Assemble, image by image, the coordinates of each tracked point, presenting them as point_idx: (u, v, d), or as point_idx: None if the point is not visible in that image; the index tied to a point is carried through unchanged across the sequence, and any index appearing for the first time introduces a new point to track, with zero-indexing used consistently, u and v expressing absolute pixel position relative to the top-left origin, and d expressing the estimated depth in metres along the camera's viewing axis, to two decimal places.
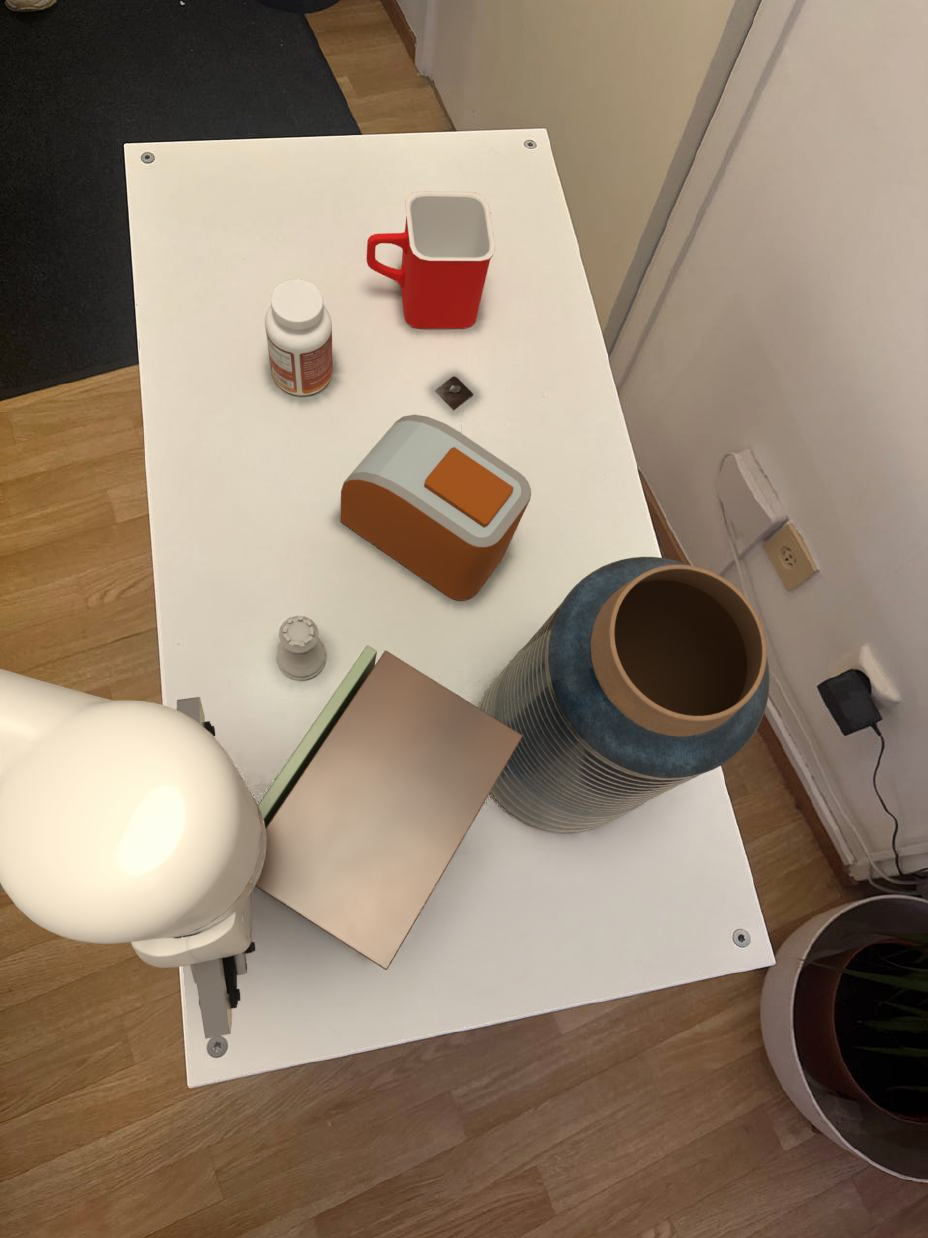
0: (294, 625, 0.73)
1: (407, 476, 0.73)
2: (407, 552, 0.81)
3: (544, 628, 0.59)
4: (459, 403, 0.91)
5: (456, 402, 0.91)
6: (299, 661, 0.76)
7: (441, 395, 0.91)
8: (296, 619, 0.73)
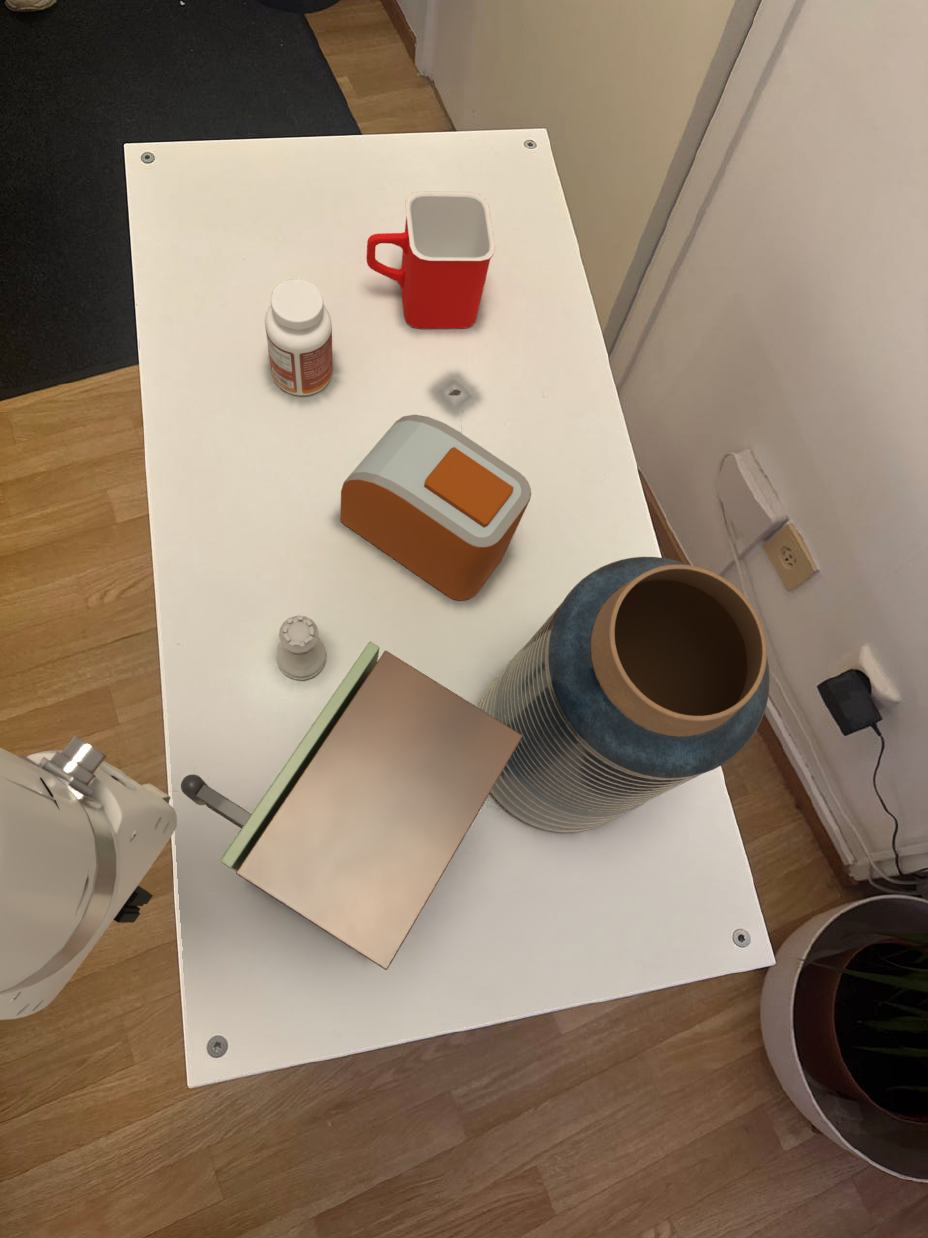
0: (294, 625, 0.73)
1: (407, 476, 0.73)
2: (407, 552, 0.81)
3: (544, 628, 0.59)
4: None
5: None
6: (299, 661, 0.76)
7: None
8: (296, 619, 0.73)
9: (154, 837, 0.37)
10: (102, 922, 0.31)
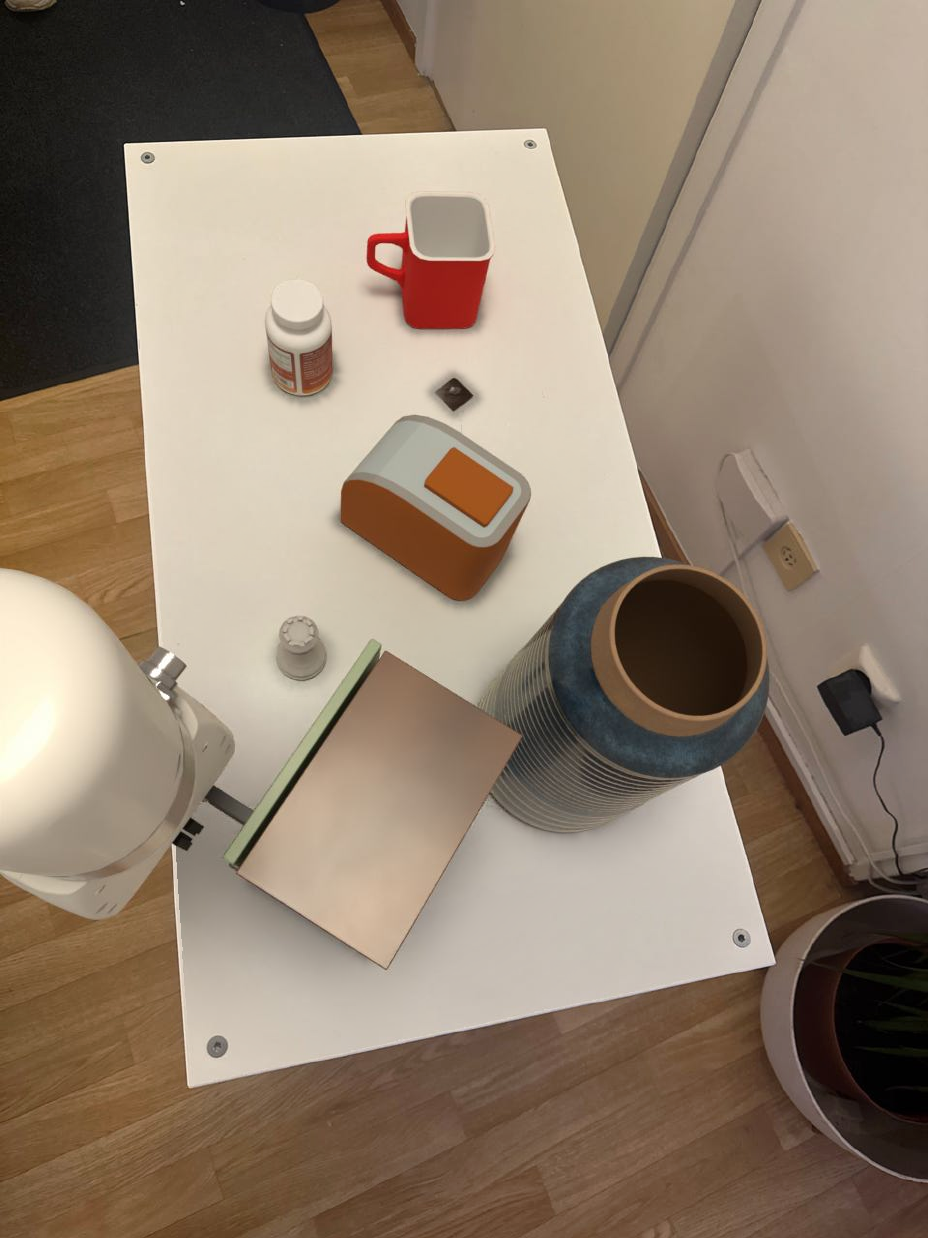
0: (294, 625, 0.73)
1: (407, 476, 0.73)
2: (407, 552, 0.81)
3: (544, 628, 0.59)
4: (459, 405, 0.91)
5: (456, 403, 0.91)
6: (299, 661, 0.76)
7: (441, 397, 0.91)
8: (296, 619, 0.73)
9: (218, 755, 0.40)
10: (183, 818, 0.33)
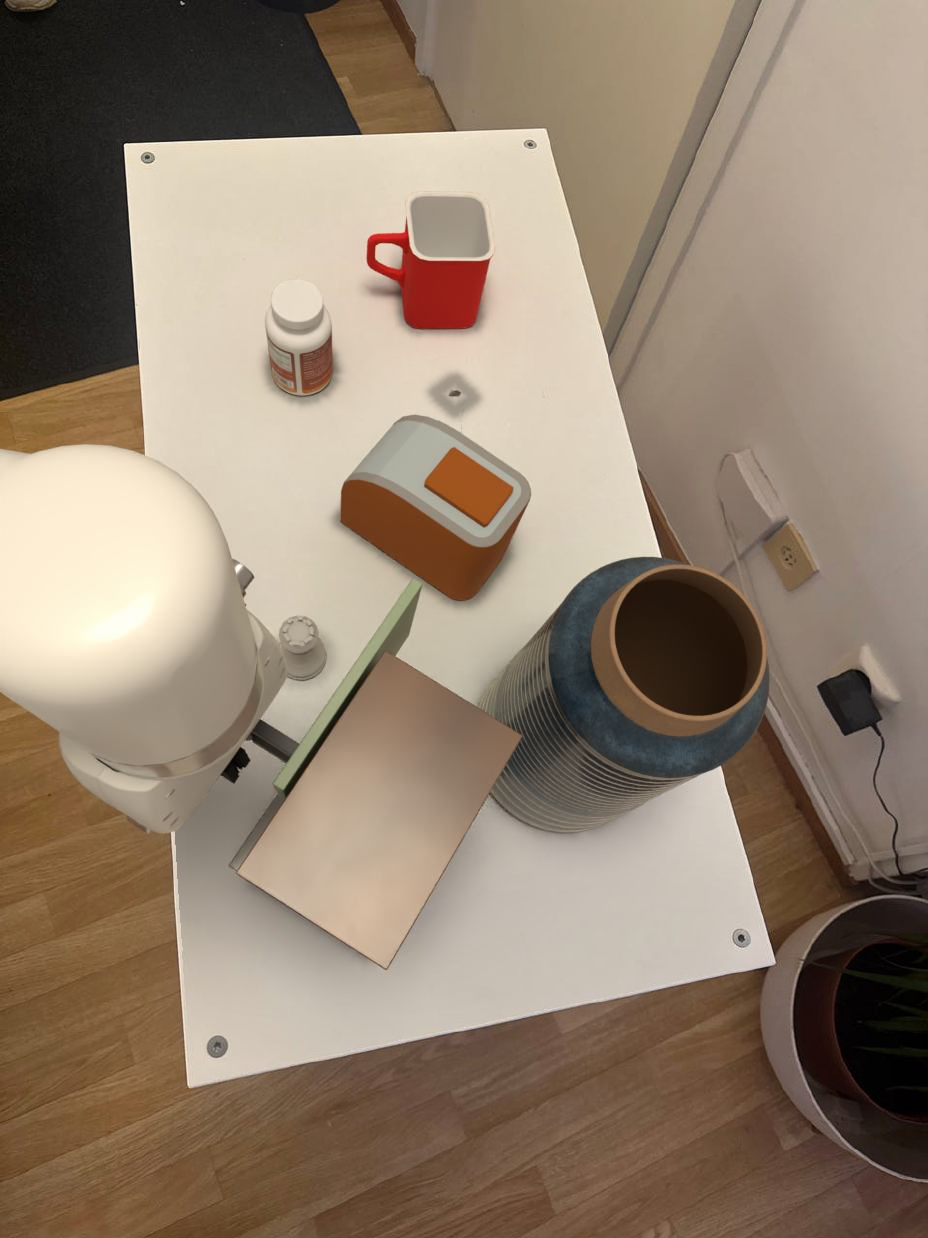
0: (294, 625, 0.73)
1: (407, 476, 0.73)
2: (407, 552, 0.81)
3: (544, 628, 0.59)
4: None
5: None
6: (299, 661, 0.76)
7: None
8: (296, 619, 0.73)
9: (275, 676, 0.41)
10: (252, 721, 0.35)
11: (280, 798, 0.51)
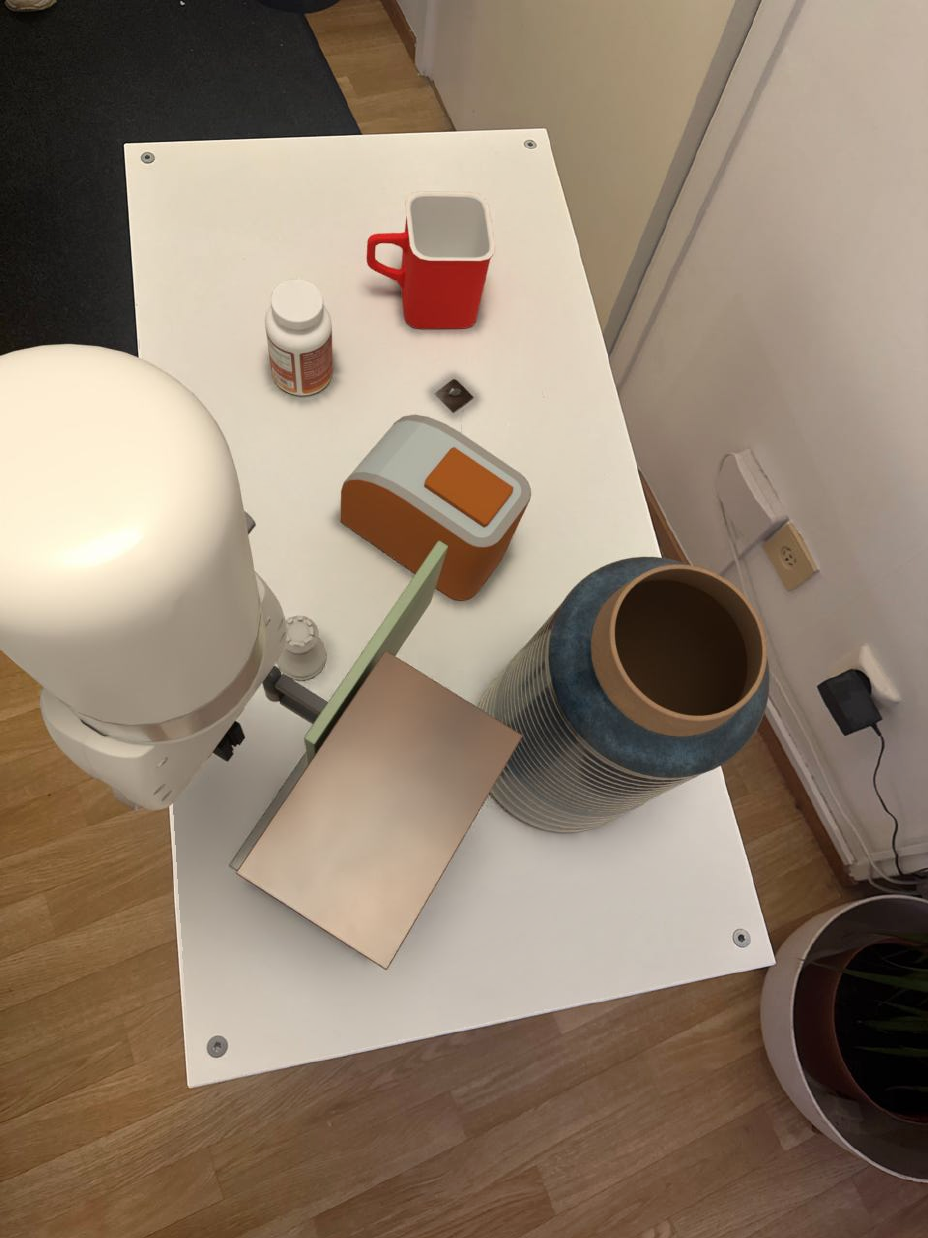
0: (294, 625, 0.73)
1: (407, 476, 0.73)
2: (407, 552, 0.81)
3: (544, 628, 0.59)
4: (459, 406, 0.91)
5: (456, 404, 0.91)
6: (299, 661, 0.76)
7: (441, 398, 0.91)
8: (296, 619, 0.73)
9: (275, 640, 0.38)
10: (253, 681, 0.32)
11: (308, 756, 0.52)
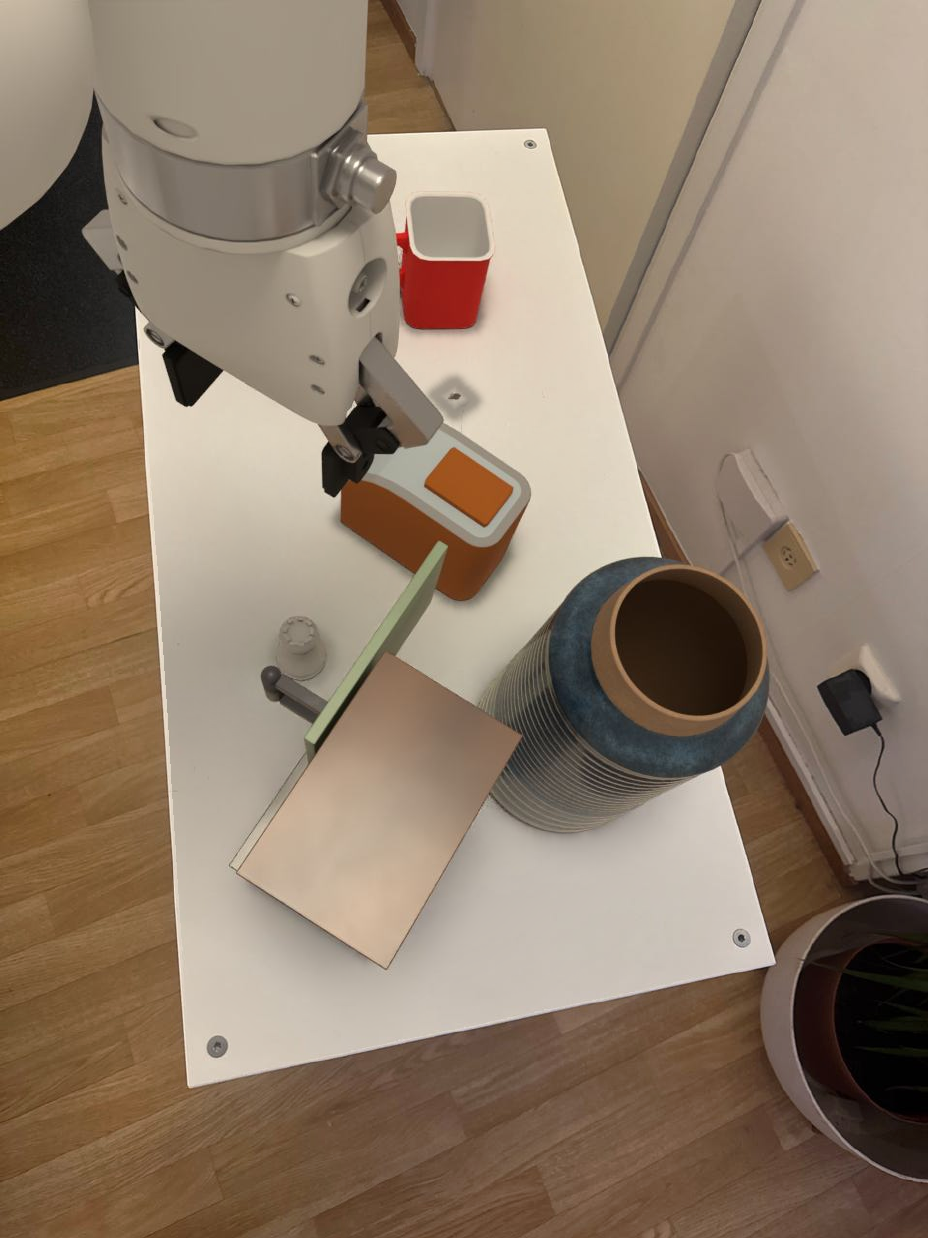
0: (294, 625, 0.73)
1: (407, 476, 0.73)
2: (407, 552, 0.81)
3: (544, 628, 0.59)
4: None
5: None
6: (299, 661, 0.76)
7: None
8: (296, 619, 0.73)
9: (302, 363, 0.31)
10: (179, 230, 0.26)
11: (308, 756, 0.52)
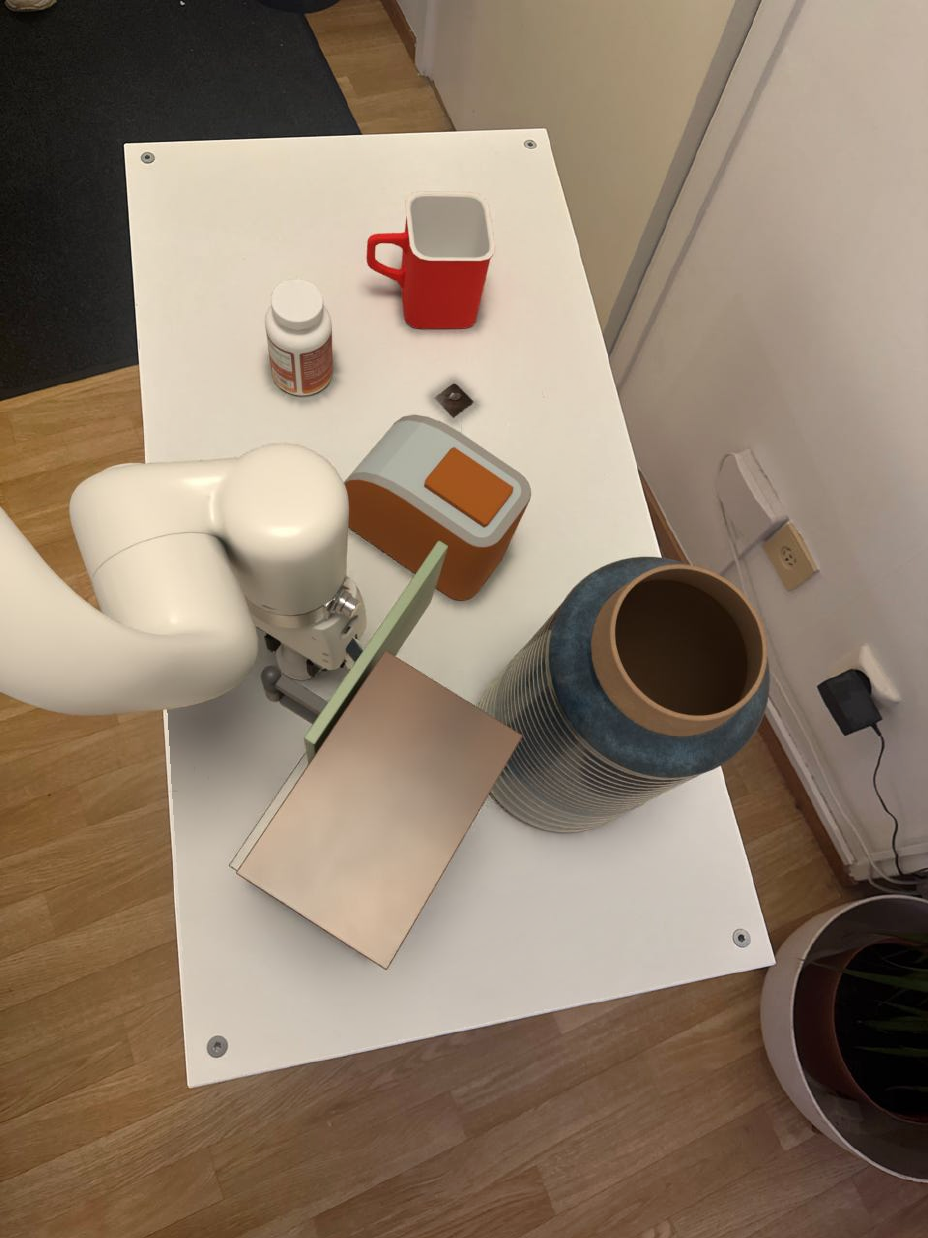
0: None
1: (407, 476, 0.73)
2: (407, 552, 0.81)
3: (544, 628, 0.59)
4: (459, 410, 0.90)
5: (456, 409, 0.90)
6: (299, 661, 0.76)
7: (441, 402, 0.91)
8: None
9: (318, 653, 0.66)
10: (267, 624, 0.60)
11: (308, 756, 0.52)
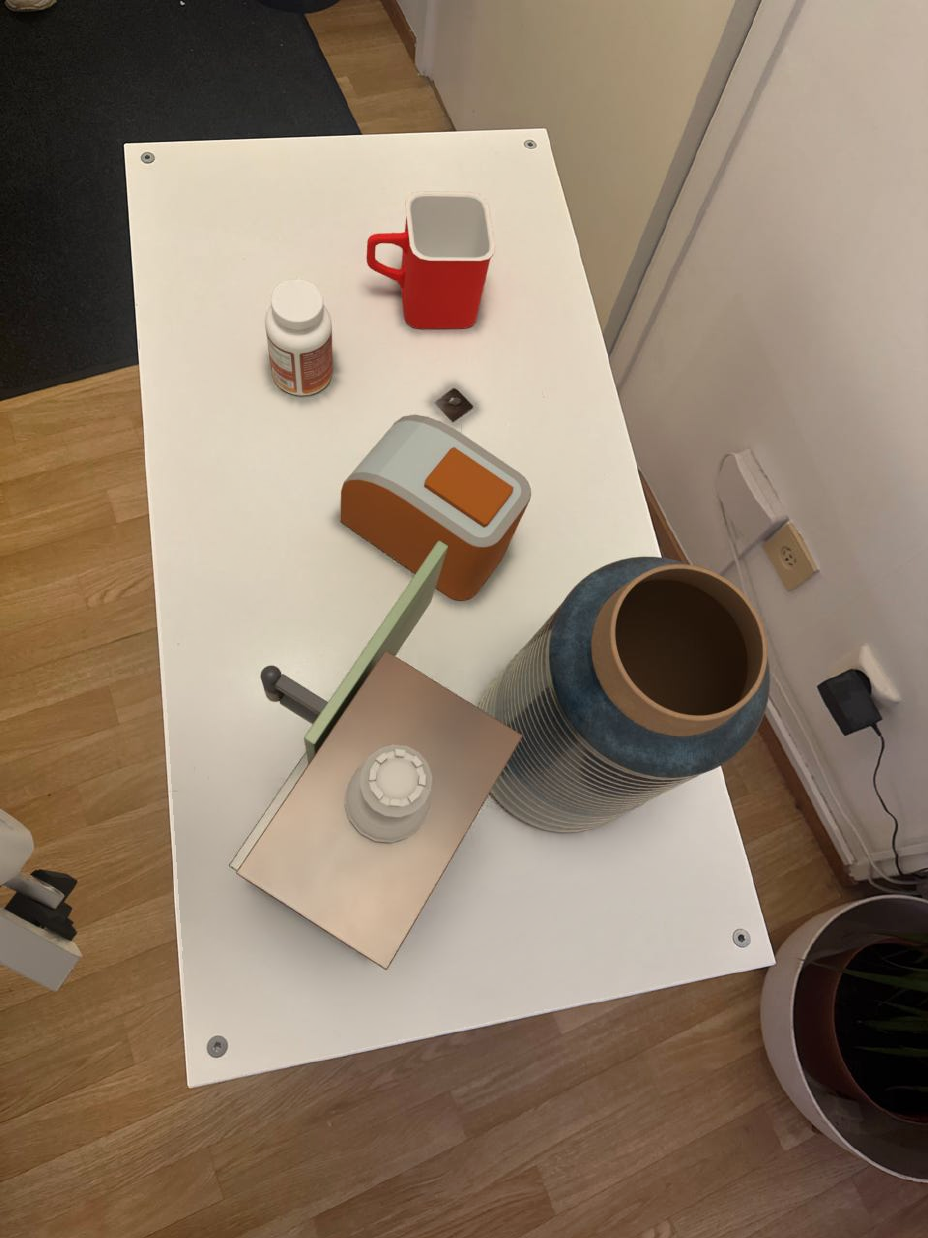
0: (389, 766, 0.39)
1: (407, 476, 0.73)
2: (407, 552, 0.81)
3: (544, 628, 0.59)
4: (459, 415, 0.90)
5: (456, 414, 0.90)
6: (391, 818, 0.43)
7: (441, 407, 0.90)
8: (392, 754, 0.40)
9: None
10: None
11: (308, 756, 0.52)
